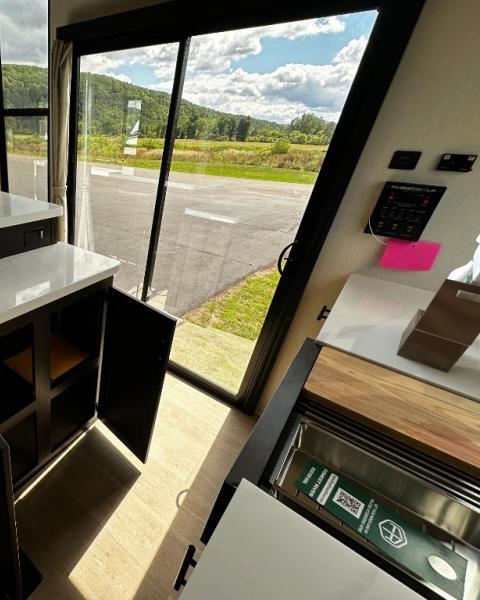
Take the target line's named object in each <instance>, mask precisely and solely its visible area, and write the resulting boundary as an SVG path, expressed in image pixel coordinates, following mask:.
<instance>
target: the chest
mask: <svg viewBox="0 0 480 600" xmlns="http://www.w3.org/2000/svg"><path fill="white" fill-rule="evenodd" d="M425 310H426V309H425ZM425 310H424V309H422V308H418V310H417V311H416V312H415V313H414V315H413V317H412V318H411V319H410V321H409V323H408V324H407V326H406V328H405V329H404V331H403V332H402V334H401V338H400V341H399V344H398V348H397V350H396V355H397V356H400V357H403V358H405V359H408V360H410V361H413V362H414V361H415V362H417V363H419V364H422V365H424V366H428V367H430V368H433V369H436V370H439V371H442V372H443V373H447V374H448V373H449V372H450V371H451V370H452V369H453V367H454V366H455V364H456V363H457V362H458V361H459V360H460V358H462V356H463V355H464V354H465V353H466V351H467V350H468V349H469V348H470V346H469V345H466V344H462V343H459V342H456V341H453V340H450V339H447V338H443V337H440V336H437V335H434V334H431V333H428V332H424V331H421V330H418V329H415V328H414V327H415V325H416V324H417V322H418V321H419V319H420V317H421V316H422V314H423V313H424V311H425Z"/></svg>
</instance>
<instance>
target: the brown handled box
mask: <svg viewBox="0 0 480 600" xmlns="http://www.w3.org/2000/svg"><path fill="white" fill-rule="evenodd" d="M414 328H415V329H418V330H421V331H424V332H428V333H431V334H434V335H437V336H440V337H443V338H447V339H450V340H453V341H456V342H459V343H462V344H466V345H469V347H471V346H472V345H473V343H474V342H475V340H476V339H477V338H478V336H479V335H480V286H477V285H473V284H469V283H464V282H460V281H456V280H451V279H448V277H447V278H444V280H443V282H442V283H441V285H440V286H439V288H438V290H437V291H436V293H435V294H434V296H433V298H431V300H430V302H429V303H428V305H427V306H426V308H425V311H424V313H423V314H422V316H421V317H420V319H419V321H418V322H417V324H416V325H415V327H414Z"/></svg>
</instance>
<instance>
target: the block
mask: <svg viewBox="0 0 480 600" xmlns="http://www.w3.org/2000/svg"><path fill="white" fill-rule="evenodd" d="M472 279H473V277H472V276H468V275H467V276H466V277H465V279H464V280H463V282H464V283H470V282H471V281H472Z"/></svg>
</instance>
